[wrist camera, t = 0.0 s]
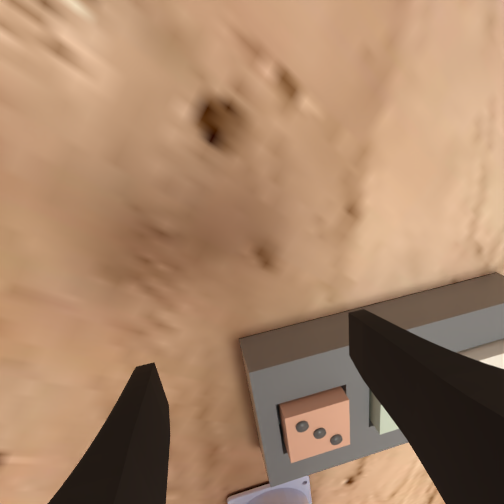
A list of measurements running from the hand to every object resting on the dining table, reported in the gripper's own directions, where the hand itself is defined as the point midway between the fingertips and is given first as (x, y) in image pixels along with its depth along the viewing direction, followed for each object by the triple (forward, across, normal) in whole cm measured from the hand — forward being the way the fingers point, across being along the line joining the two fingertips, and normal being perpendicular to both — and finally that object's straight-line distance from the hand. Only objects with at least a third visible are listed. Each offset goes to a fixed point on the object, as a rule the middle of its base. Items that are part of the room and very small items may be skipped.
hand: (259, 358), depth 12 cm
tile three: (+7, -4, +13) cm, 15 cm away
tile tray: (+10, -11, +13) cm, 20 cm away
